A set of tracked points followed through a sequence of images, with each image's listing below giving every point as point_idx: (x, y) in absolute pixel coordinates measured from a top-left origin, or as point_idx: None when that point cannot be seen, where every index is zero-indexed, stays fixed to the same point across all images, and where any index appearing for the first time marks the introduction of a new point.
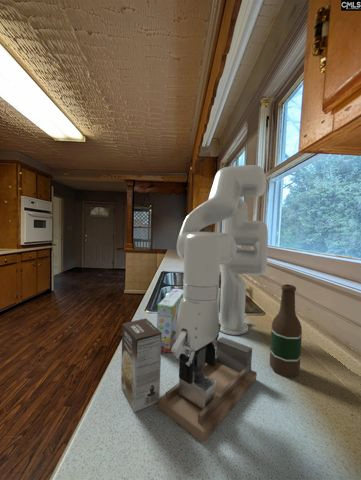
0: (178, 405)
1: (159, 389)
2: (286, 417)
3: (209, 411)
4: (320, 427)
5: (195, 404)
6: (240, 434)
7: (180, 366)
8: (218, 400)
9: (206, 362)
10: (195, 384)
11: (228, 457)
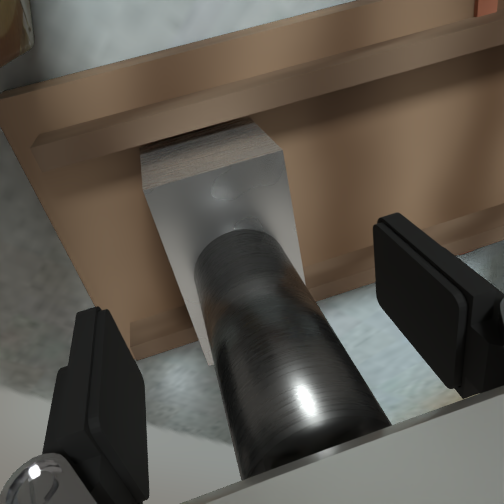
0: (96, 210)
1: (13, 58)
2: (422, 358)
3: None
4: (446, 403)
5: None
6: None
7: (48, 438)
8: None
9: (377, 257)
10: (192, 309)
11: (167, 389)
